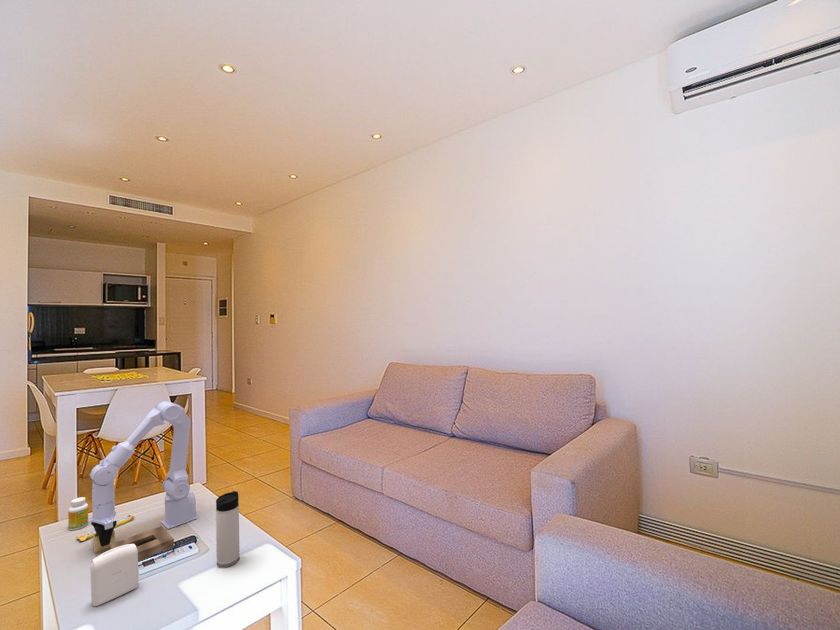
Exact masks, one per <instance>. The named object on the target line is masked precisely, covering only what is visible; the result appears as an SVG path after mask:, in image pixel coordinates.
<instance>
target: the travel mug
mask: <svg viewBox="0 0 840 630" xmlns="http://www.w3.org/2000/svg"><path fill="white" fill-rule="evenodd" d="M239 505H240V503H239V491H236V490H235V491H234V490H232V491H231V492H226V493H224V494H222V495H219V496H218V497H217V498H216V500H215V506H216V507H215V525H216V526H215V529H216V530H215V531H216V533H215V534H216V535H215V536H216V537H215V539H216V543H215V544H216V566H217V567H219V568H223V569H225V568H230V567H232V566H234V565H235V564H237V563H238V562H239V560H240V553H241V552H240V551H241V550H240V506H239Z"/></svg>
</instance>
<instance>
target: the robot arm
mask: <svg viewBox="0 0 840 630" xmlns="http://www.w3.org/2000/svg"><path fill="white" fill-rule="evenodd" d="M165 422H168V423H169V424H170V425H171V426H173V435H172V445H171V452H170V453H171V455H170V461H169V462H170V464H169V465H170V466H169V470H168V471H167V473H166V477H165V480H164V481H163V483H162V490H163V492H164V493H165V496H164V519H162V520H160V522H161V524H162V526H164V527H165V528H166V529H167V530H171V529H172V528H175V527H178V526H180V525H183V524H186V523H189V522H192V521H194V520H197V518H198V516H197V499H196V495H195V493H194V492H192V491H190V490H191V485H190V483H189V475H188V472H187V463H188V452H189V445H190V444H189V443H190V434H191V426H192V425H191V424H192V423H191V422H192V421H191V419H190V417H189V416H188V414H187V413H186V409H185V408H184V407H183V406H181V405H179V404H177V403H173V402H171V401H170V400H162V401H160V402H158V403H157V404H156V406H155V407H154V408H152V409H151V410H150V411H149V413H148V414H147V415H146V417H145V418H144V419H143V420H142V421H141V423H140V424H138V426H137V427H136V429H135V430H134V431H133V432H132V433H131V434H130V435H129V437H128V438H127V439H126V440H125V441H122V442H118V444H117V445H113V446H112V447H111V451H110V452H109V453H108V454H107V455H106V456H105V458H104V459H101V460H100V461H99V464H96V465H95V466H94V467H93V468H92V469H91V471H90V473H89V478H90V479H91V480H92V486H91V487H92V489H91V499H92V500H91V502H92V503H91V509H92V510H91V511H92V513H91V514H92V516H91V517H90V518H89V517H88V524H91V526H92V527H93V530H95V531H96V533H98V536H99V541H100V545H101V547H103V546H106V545H109V544H110V541H111V536H112V532H113V530H115V529H116V528H115V526H116V524H117V521H118V520H114V518H115V517H116V515H117V512H116V504H115V503H116V497H115V496H116V495H115V494H116V493H115V489H116V487H115V479H116V478H117V476H118V471H119V470H120V469H121V468H122V467H124V465H125V464H126V463H127V461H128V460H129V459H130V458H131V457H132V455H134V454H135V448H136V446H137V445H138V444H139V443H140V442H141V441H142V439H144V438H145V437H146V436H147V435H148V434H149V432H151V430H153V429H154V428H155V427H158V426H162V425H165V424H166V423H165Z"/></svg>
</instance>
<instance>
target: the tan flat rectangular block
mask: <svg viewBox="0 0 840 630" xmlns="http://www.w3.org/2000/svg"><path fill="white" fill-rule="evenodd" d="M92 539H93V551H94V553H98V552H99V553H100V552H101V551H105V550H107V549H110V544H113V543H116V540H115V539H116V533H115V529H114V530H113V532H112V536H111V541H110V544H109V545H106V546H103V547H101V545H100V541H99V536H98V533H96V534H93V538H92Z"/></svg>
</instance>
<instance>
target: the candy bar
mask: <svg viewBox="0 0 840 630" xmlns="http://www.w3.org/2000/svg"><path fill="white" fill-rule="evenodd" d="M134 520H135V516H134V515H130V514H128V515H127V516H125V517H123V518H119V519H118V520H116V521H117V524H116V526H115V528H114V529H116V528H119V527H122V526H124V525H126V524H128V523H130V522H133V521H134ZM93 534H96V531H95V529H93V530H91V531H88V532H86V533H84V534H83V533H82V534H81V535H80V536H75V538H76V539H78V540H79V541H81V542H83V541H86V540H89V539H93Z"/></svg>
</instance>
